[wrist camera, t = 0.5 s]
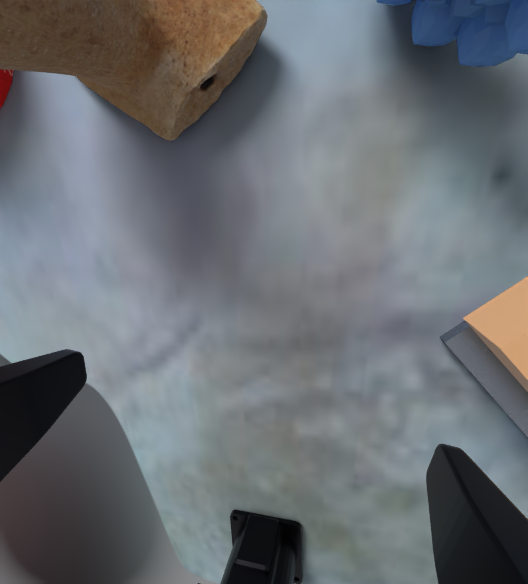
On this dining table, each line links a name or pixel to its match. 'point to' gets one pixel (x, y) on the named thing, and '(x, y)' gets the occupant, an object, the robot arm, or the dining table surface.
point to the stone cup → (136, 50)
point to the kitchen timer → (5, 84)
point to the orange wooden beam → (506, 328)
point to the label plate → (489, 372)
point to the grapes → (472, 27)
